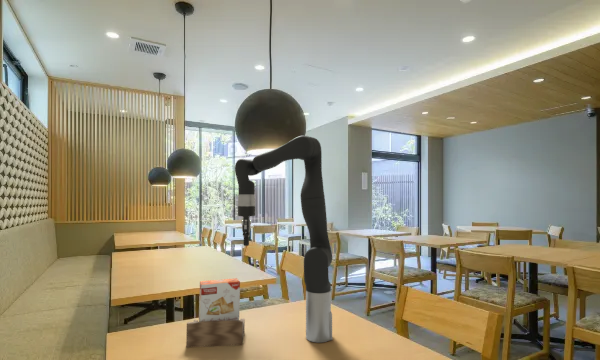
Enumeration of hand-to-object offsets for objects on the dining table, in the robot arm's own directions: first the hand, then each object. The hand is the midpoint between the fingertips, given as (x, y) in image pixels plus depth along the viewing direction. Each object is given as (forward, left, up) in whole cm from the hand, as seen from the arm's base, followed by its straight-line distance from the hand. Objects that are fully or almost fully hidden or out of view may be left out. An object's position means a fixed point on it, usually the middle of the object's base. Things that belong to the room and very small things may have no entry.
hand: (246, 245), depth 144 cm
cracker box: (+8, +19, -31) cm, 38 cm away
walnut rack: (+9, +19, -31) cm, 37 cm away
